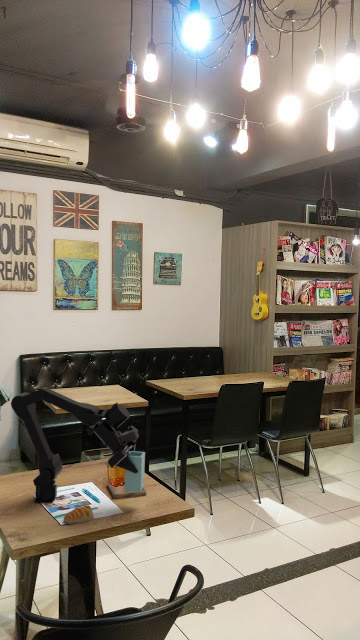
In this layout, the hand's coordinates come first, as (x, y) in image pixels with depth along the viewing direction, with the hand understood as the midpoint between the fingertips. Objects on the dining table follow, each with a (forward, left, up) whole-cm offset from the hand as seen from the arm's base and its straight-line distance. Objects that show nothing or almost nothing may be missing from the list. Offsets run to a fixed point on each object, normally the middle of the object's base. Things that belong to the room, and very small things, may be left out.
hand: (138, 469), depth 168 cm
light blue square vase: (-1, 0, -7) cm, 7 cm away
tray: (-5, +14, -13) cm, 20 cm away
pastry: (-18, -9, -14) cm, 25 cm away
